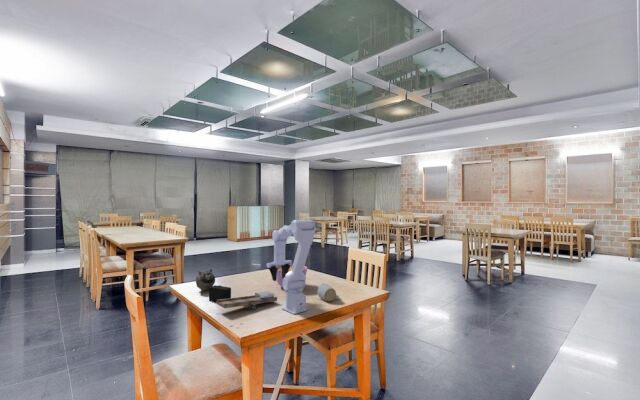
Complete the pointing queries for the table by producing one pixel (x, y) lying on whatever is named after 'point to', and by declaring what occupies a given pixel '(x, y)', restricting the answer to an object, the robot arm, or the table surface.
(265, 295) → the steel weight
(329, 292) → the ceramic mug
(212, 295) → the digital camera
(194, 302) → the table surface
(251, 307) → the pivot stand
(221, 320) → the table surface
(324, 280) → the table surface
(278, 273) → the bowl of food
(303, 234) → the robot arm
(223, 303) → the beam
